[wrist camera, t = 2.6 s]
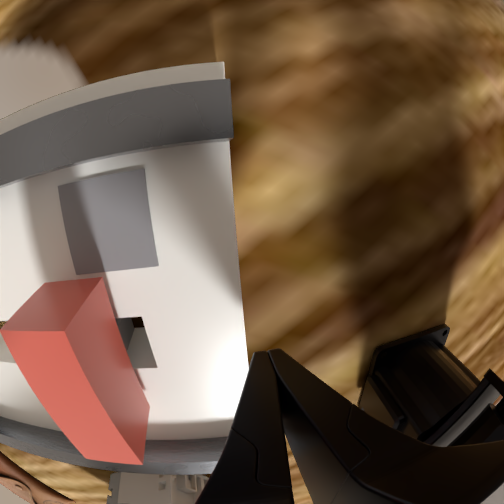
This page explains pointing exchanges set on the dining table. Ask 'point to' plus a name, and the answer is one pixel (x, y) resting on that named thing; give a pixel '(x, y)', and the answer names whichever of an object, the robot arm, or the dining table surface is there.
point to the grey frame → (101, 147)
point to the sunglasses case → (28, 485)
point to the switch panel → (137, 263)
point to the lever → (82, 368)
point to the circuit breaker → (155, 488)
